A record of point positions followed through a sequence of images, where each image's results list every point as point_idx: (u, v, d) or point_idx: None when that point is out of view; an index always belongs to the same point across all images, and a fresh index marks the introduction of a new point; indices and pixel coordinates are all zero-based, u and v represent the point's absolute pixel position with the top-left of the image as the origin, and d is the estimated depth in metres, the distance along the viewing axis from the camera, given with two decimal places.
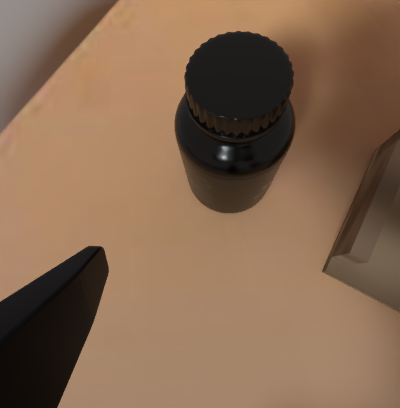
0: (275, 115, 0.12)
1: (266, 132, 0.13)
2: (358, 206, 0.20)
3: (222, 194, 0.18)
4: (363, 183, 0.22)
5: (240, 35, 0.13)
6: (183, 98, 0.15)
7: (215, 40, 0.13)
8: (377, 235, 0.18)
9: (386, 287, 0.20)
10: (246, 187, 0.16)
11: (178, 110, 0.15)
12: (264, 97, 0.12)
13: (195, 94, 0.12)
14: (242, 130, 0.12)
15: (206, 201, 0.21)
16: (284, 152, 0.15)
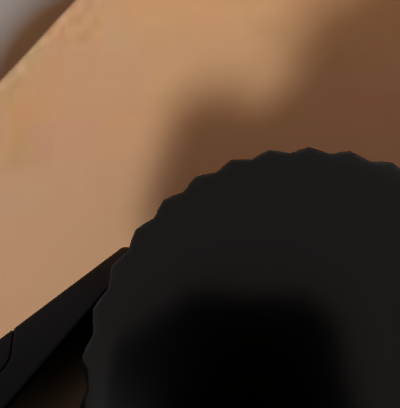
0: None
1: None
2: None
3: None
4: None
5: (320, 171, 0.03)
6: None
7: (218, 188, 0.03)
8: None
9: None
10: None
11: None
12: None
13: None
14: None
15: None
16: None
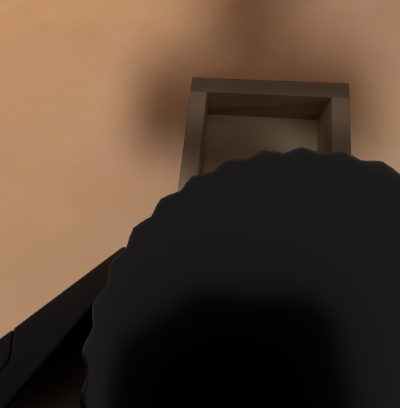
0: None
1: None
2: None
3: None
4: None
5: (313, 170, 0.03)
6: None
7: (214, 187, 0.03)
8: None
9: None
10: None
11: None
12: None
13: None
14: None
15: None
16: None
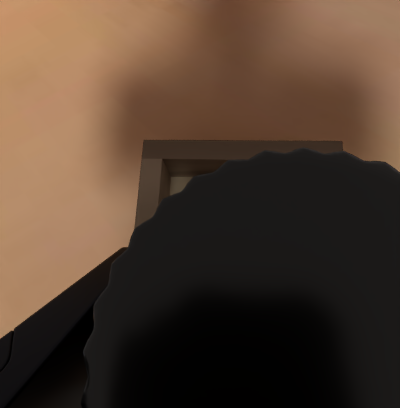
0: None
1: None
2: None
3: None
4: None
5: (315, 170, 0.03)
6: None
7: (215, 188, 0.03)
8: None
9: None
10: None
11: None
12: None
13: None
14: None
15: None
16: None
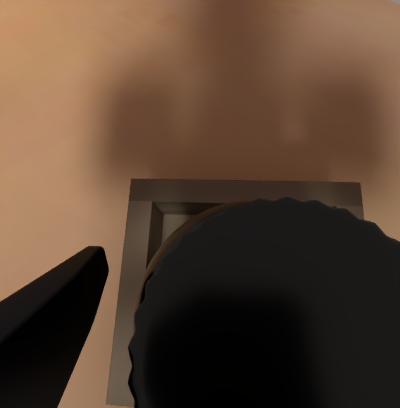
0: None
1: None
2: None
3: None
4: None
5: (294, 214, 0.04)
6: (150, 277, 0.07)
7: (222, 227, 0.04)
8: None
9: None
10: None
11: (139, 304, 0.07)
12: None
13: None
14: None
15: None
16: None
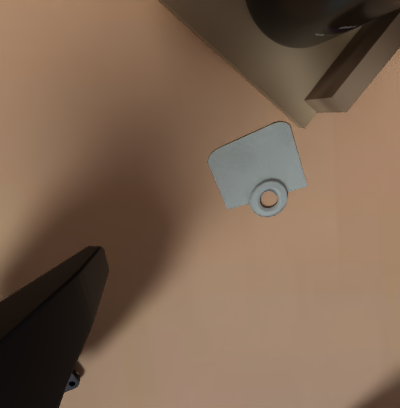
0: None
1: None
2: None
3: None
4: None
5: None
6: None
7: None
8: None
9: (227, 32, 0.15)
10: (342, 1, 0.10)
11: None
12: None
13: None
14: None
15: None
16: None
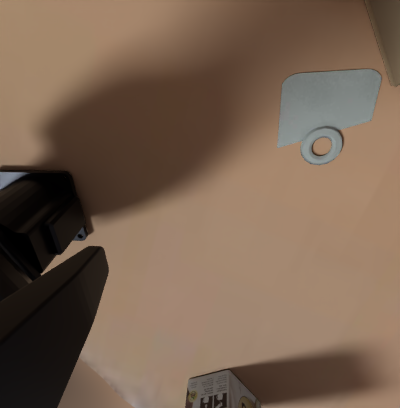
0: None
1: None
2: None
3: None
4: None
5: None
6: None
7: None
8: None
9: None
10: None
11: None
12: None
13: None
14: None
15: None
16: None
